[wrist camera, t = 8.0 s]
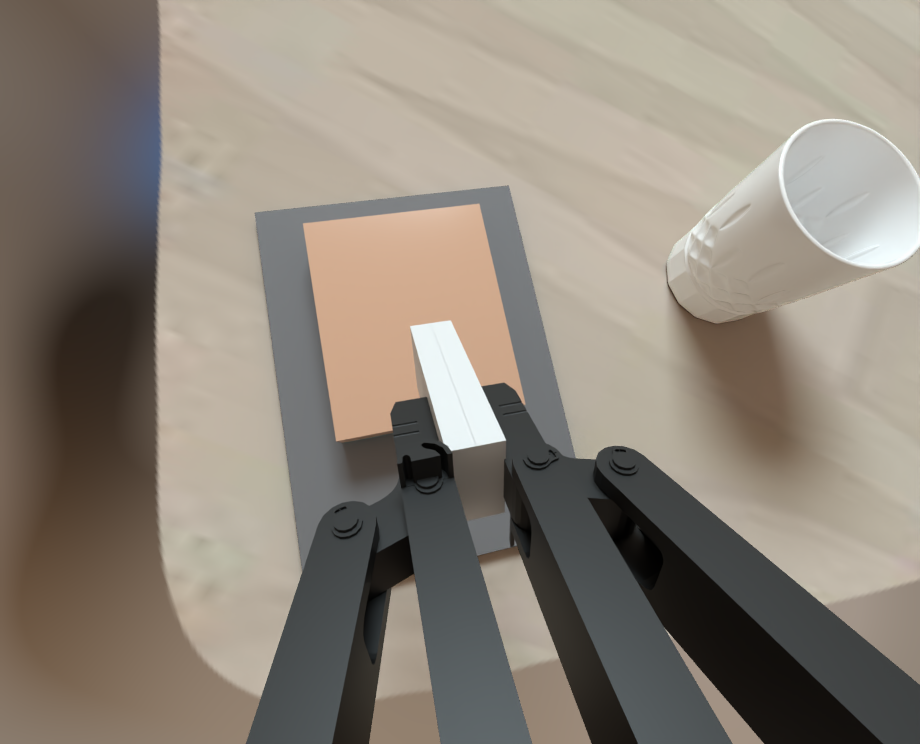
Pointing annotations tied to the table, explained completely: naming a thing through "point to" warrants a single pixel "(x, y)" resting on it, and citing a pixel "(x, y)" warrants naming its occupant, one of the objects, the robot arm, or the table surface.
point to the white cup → (801, 224)
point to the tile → (402, 307)
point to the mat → (304, 378)
